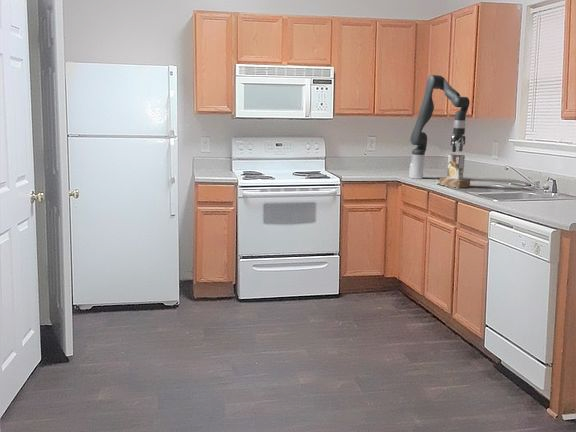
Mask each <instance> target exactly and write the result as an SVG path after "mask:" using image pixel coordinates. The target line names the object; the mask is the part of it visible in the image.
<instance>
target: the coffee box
mask: <svg viewBox="0 0 576 432" xmlns="http://www.w3.org/2000/svg"><path fill="white" fill-rule="evenodd" d="M465 157H466V156H465V155H464V154H456V153H451V154H448V159H447V174H446V177H447V178H450V179H463V178H464V171H465V170H464V169H465Z"/></svg>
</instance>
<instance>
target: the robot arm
mask: <svg viewBox="0 0 576 432" xmlns="http://www.w3.org/2000/svg"><path fill="white" fill-rule="evenodd" d="M435 89H436V90H441V91H443V92H444V96H445V97H446V98H447V99H448V100H449V101H450V102H451V103H452V105H453V106H454V108H455V107H456V108H459V110H457V111H456V112H455V114H454V119H453V120H454V122H453V127H452V129H453V130H452V134H453V136H451V138H450V146H451V147H452V149H451V151H452V153H456V151H457V145H459V147H458V152H463V148H464V145H466V135H465V134H466V118H467V112H468V110H469V107H470V105H471V103H470V99H469V97H467V96H461V94H460V93H459V92H458V91H457V90H456V89H455V88H453V87H452V86H451V85H450V83H449V82H448V81H447V79H445V78H444V77H443V75H438V74H430V75H429V76H428V78H427V81H426V85H425V90H424V95H423V97H422V98H423V99H422V101H421V104H420V109H419V111H418V114H417V118H416V122H415V124H414V128H413V129H412V132H411V135H410V139H409V141H410V143H411V144H412V145H414V146H416V147H415V148H413V149H412V150H411V159H410V160H411V161H410V164H409V173H408V178H410V179H417V180H418V179H421V180H422V179H424V169H425V154H426V151H427V146H428V135H427V133H426V132H424V131H423V129H424V128H425V126H426V124H427V123H428V122H429V121H430V120H431V118H432V116H433V112H434V110H435V104H434V100H433V92H434V90H435Z"/></svg>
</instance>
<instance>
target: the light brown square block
mask: <svg viewBox="0 0 576 432" xmlns="http://www.w3.org/2000/svg"><path fill="white" fill-rule="evenodd" d="M439 184H441V185H448V186H453V187H452V188H454V187H456V188H457V189H462V188H468V187H471V178H464V177H463V179H450V178H447V176H446V177H440V178H439V183H438V185H439ZM456 188H455V189H456Z"/></svg>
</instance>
